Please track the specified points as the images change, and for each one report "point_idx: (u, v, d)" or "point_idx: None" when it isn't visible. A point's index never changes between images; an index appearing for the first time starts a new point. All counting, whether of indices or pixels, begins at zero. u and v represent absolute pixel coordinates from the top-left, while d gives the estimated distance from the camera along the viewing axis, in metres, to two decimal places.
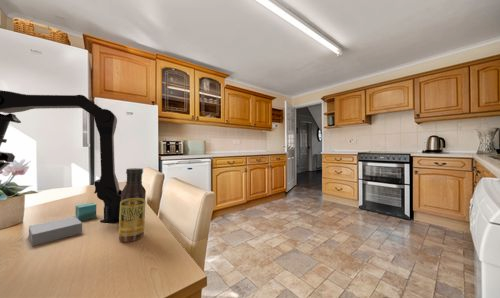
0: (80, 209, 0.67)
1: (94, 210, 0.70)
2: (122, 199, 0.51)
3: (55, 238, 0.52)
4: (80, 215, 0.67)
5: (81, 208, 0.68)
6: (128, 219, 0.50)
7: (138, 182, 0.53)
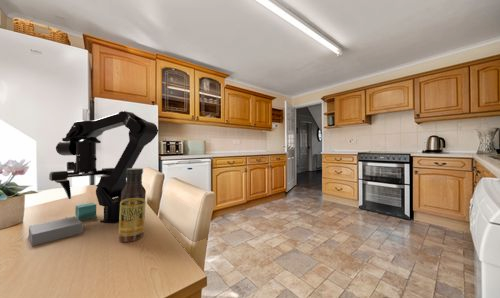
0: (80, 209, 0.67)
1: (94, 210, 0.70)
2: (122, 199, 0.51)
3: (55, 238, 0.52)
4: (80, 215, 0.67)
5: (81, 208, 0.67)
6: (128, 219, 0.50)
7: (138, 182, 0.53)
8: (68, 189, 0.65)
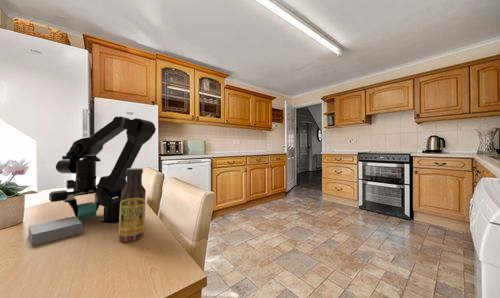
0: (80, 209, 0.67)
1: (94, 210, 0.70)
2: (122, 199, 0.51)
3: (55, 238, 0.52)
4: (80, 215, 0.67)
5: (81, 208, 0.68)
6: (128, 219, 0.50)
7: (138, 182, 0.53)
8: (75, 208, 0.67)
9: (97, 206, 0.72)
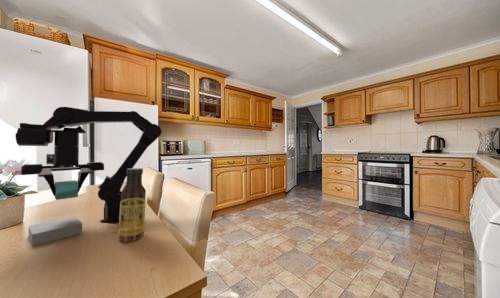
0: (58, 186, 0.58)
1: (75, 188, 0.61)
2: (122, 199, 0.51)
3: (55, 238, 0.52)
4: (58, 193, 0.58)
5: (59, 185, 0.58)
6: (128, 219, 0.50)
7: (138, 182, 0.53)
8: (52, 184, 0.57)
9: (80, 185, 0.62)
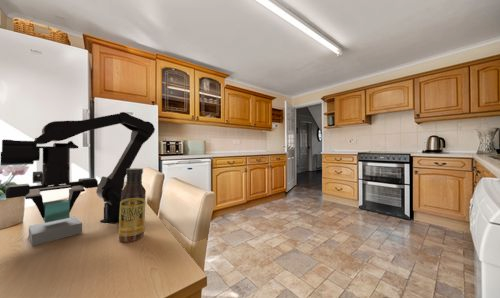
0: (47, 207, 0.53)
1: (67, 209, 0.56)
2: (122, 199, 0.51)
3: (55, 238, 0.52)
4: (47, 215, 0.53)
5: (49, 206, 0.53)
6: (128, 219, 0.50)
7: (138, 182, 0.53)
8: (41, 206, 0.53)
9: (71, 204, 0.58)
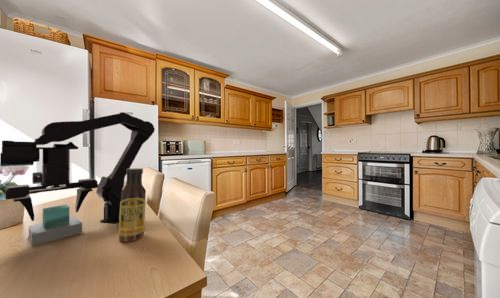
0: (47, 213, 0.53)
1: (66, 214, 0.56)
2: (122, 199, 0.51)
3: (55, 238, 0.52)
4: (47, 221, 0.53)
5: (48, 212, 0.53)
6: (128, 219, 0.50)
7: (138, 182, 0.53)
8: (30, 209, 0.51)
9: (79, 203, 0.59)
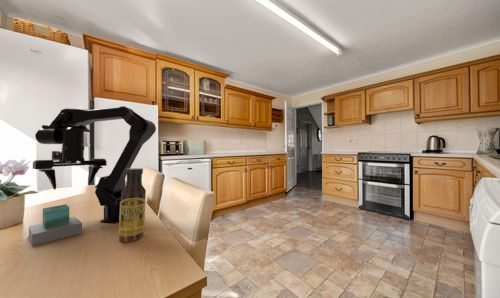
0: (47, 213, 0.53)
1: (66, 214, 0.56)
2: (122, 199, 0.51)
3: (55, 238, 0.52)
4: (47, 221, 0.53)
5: (48, 212, 0.53)
6: (128, 219, 0.50)
7: (138, 182, 0.53)
8: (53, 179, 0.62)
9: (91, 178, 0.71)
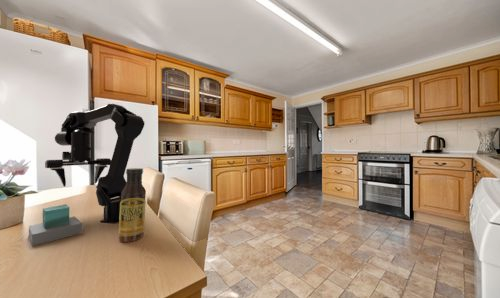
0: (47, 213, 0.53)
1: (66, 214, 0.56)
2: (122, 199, 0.51)
3: (55, 238, 0.52)
4: (47, 221, 0.53)
5: (48, 212, 0.53)
6: (128, 219, 0.50)
7: (138, 182, 0.53)
8: (63, 177, 0.68)
9: (98, 176, 0.77)
